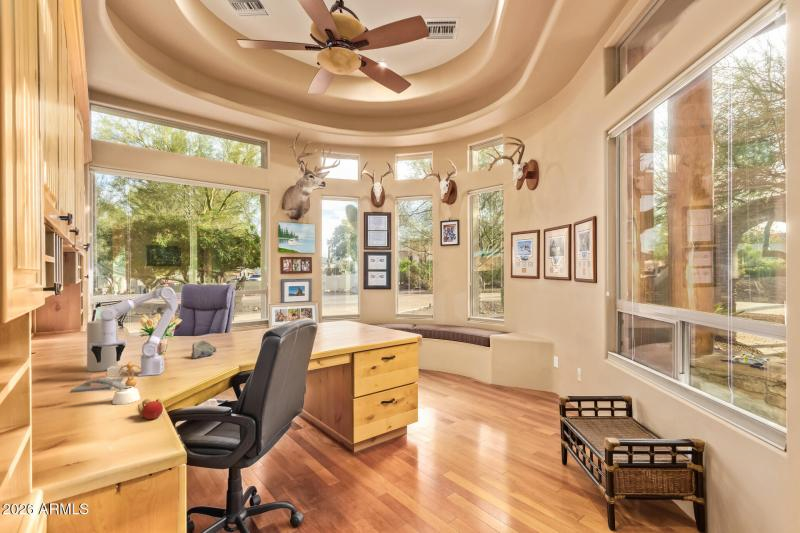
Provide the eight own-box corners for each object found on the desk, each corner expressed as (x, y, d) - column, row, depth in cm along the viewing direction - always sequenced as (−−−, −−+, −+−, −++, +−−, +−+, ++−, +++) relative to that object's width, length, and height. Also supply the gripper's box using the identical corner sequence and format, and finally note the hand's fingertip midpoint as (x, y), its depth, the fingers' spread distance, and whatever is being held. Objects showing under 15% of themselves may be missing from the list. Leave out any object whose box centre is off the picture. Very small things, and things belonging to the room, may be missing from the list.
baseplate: (123, 380, 175) (123, 378, 175) (109, 389, 162) (109, 386, 162) (87, 382, 171) (87, 380, 171) (70, 392, 158) (70, 390, 158)
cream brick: (123, 372, 189) (123, 364, 189) (119, 375, 183) (119, 367, 183) (111, 373, 187) (111, 365, 187) (107, 376, 182) (107, 368, 182)
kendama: (131, 413, 138) (138, 421, 124) (134, 395, 139) (142, 401, 126) (155, 412, 143) (165, 419, 129) (159, 395, 144) (168, 400, 131)
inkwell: (138, 402, 145) (138, 377, 145) (79, 410, 137) (79, 383, 137) (142, 395, 153) (142, 371, 154) (87, 402, 146) (87, 376, 146)
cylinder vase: (123, 366, 200) (123, 320, 200) (99, 372, 188) (100, 323, 188) (105, 365, 203) (105, 319, 203) (80, 371, 191) (80, 322, 191)
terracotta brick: (106, 381, 170) (106, 372, 170) (104, 384, 165) (105, 375, 165) (92, 383, 168) (92, 374, 168) (90, 386, 163) (90, 377, 163)
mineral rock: (216, 354, 230) (216, 337, 230) (215, 358, 220) (215, 340, 220) (193, 356, 225) (193, 339, 225) (190, 359, 215) (190, 342, 215)
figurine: (143, 385, 168) (143, 358, 168) (140, 388, 162) (140, 361, 162) (120, 387, 164) (120, 360, 164) (117, 391, 159) (117, 363, 159)
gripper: (129, 330, 183) (129, 358, 183) (94, 332, 179) (94, 360, 179) (124, 333, 177) (124, 361, 176) (87, 334, 172) (87, 364, 172)
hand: (108, 361), depth 177 cm, fingers open, 7 cm apart
